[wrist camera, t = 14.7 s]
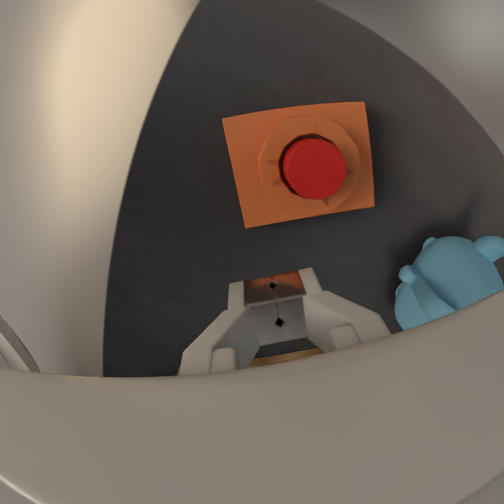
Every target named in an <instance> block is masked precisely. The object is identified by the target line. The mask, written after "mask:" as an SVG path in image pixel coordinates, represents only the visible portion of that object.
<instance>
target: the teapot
mask: <svg viewBox="0 0 504 504" xmlns="http://www.w3.org/2000/svg"><path fill="white" fill-rule="evenodd" d="M502 256H504V239H503V238H500V237H498V236H492V235H489V236H484V237H481V238H479V239H478V240H476V241H475V242H472V241H471V240H468V239H466V238H462V237H456V236H450V237H442V238H438V239H436V238H434V237H431V238H429V239H427V240H426V241H425V243H424V244H423V247H422V251H421V252H420V254H419V255H418V257H417V258H416V260H415V261H414V262H413V264H412V266H410V265H405V266H403V267H402V268H401V269H400V272H399V278H400V279H401V280H402V283H401V284H400V285H399V286H398V288H397V290H396V300H395V316H396V319H397V322H398V323H399V324H400V326H401V327H402V329H403V330H407V329H410V328H413V327H416V326H419V325H421V324H424V323H427V322H429V321H432V320H435V319H437V318H440V317H442V316H445V315H447V314H449V313H452V312H454V311H457V310H459V309H461V308H464V307H466V306H468V305H470V304H472V303H475V302H477V301H479V300H481V299H483V298H485V297H487V296H489V295H491V294H493V293H495V292H497V291H499V290H501V289H503V288H504V285H503V282H502V280H501V277H500V275H499V273H498V271H497V269H496V267H495V265H494V264H493V262H494V261H495V260H497V259H498V258H500V257H502Z"/></svg>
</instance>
